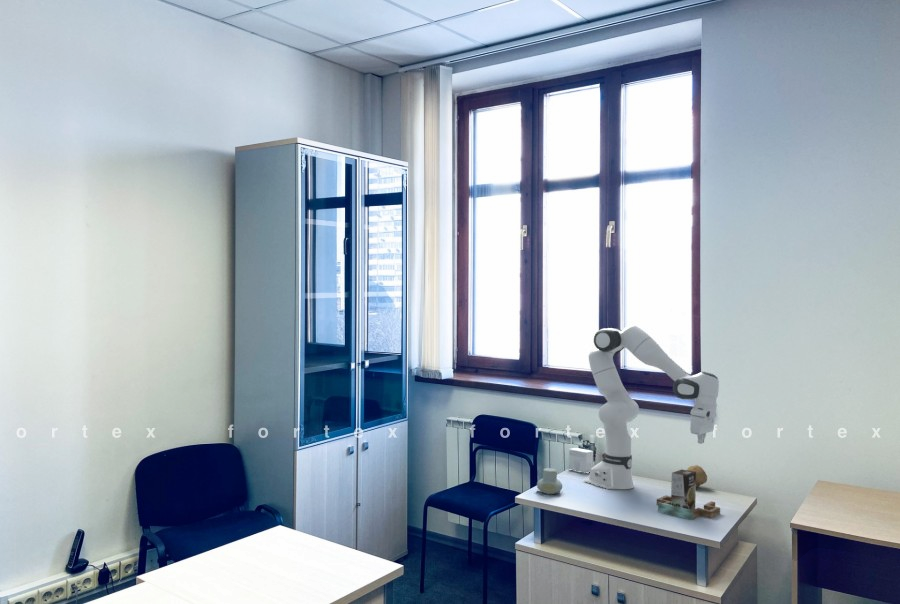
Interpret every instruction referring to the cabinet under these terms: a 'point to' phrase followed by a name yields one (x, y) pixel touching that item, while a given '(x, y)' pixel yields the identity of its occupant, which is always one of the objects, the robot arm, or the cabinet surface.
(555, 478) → the air freshener
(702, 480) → the natural sponge
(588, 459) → the skincare box
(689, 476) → the coffee box
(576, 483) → the cabinet surface
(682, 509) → the lane
